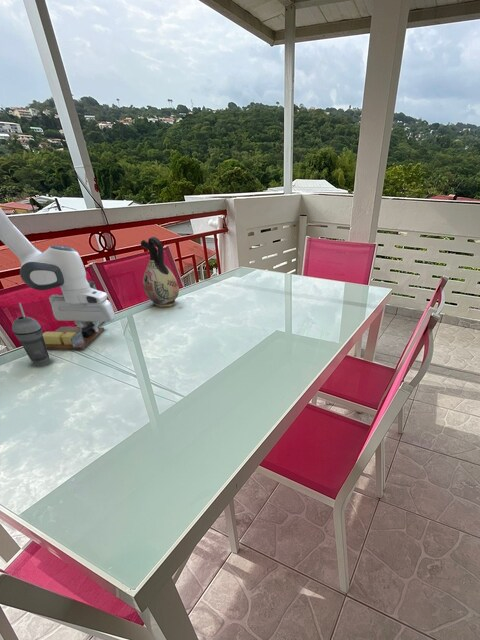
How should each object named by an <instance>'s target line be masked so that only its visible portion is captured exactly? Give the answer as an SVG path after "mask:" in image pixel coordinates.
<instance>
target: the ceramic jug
mask: <svg viewBox="0 0 480 640" xmlns="http://www.w3.org/2000/svg"><path fill="white" fill-rule="evenodd" d="M140 247H142V248H143V249H146V250H147V251H148V253H149V261H148V263H147V265H146V267H145V271H144V274H143V279H142V284H143V285H142V288H143V292H144V294H145V296H146V297H147V298H148V299H149V300H150V301H151V302H152V303H153V304H154V305H155V306H156V307H159V308H168V307H172V306H174V305H175V304H176V299H177V298H178V296H179V293H180V288H179V284H178V283H179V282H178V280H177V278H176V276H175V275H174V273H173V272H172V271H171V269H170V268H169V267H168V266H167V265H166V264H165V256H164V253H165V252H164V246H163V243H162V242H161V240H160V239H159V238H158V237H156V236H151V237H149V238H148V241H147V240H145V239H142V240H141V242H140Z"/></svg>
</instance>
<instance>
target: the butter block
mask: <svg viewBox="0 0 480 640" xmlns="http://www.w3.org/2000/svg"><path fill="white" fill-rule="evenodd" d="M63 335H64V332H54V331H44V332H43V338H44V341H45V344H62V343H63V340H62V336H63Z"/></svg>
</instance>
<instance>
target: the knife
mask: <svg viewBox="0 0 480 640" xmlns="http://www.w3.org/2000/svg"><path fill="white" fill-rule="evenodd" d="M94 325H95V324H93V322H91V323H90V324H88V325H87V326H86V327H85V328H84V329H82V330H81V331H79V332H78V333H77V334H76V335H75V336H73V337H72V338H71V341H72V344H73V347H76V346H77V345H78V344H79V343H80V342H81V341H82V340H84V339H85V338H89V337H90V336H91V335H92V334H93V333H94V332H93V330H92V327H94ZM99 327H100V326H98V329H99Z"/></svg>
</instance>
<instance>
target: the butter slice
mask: <svg viewBox="0 0 480 640" xmlns="http://www.w3.org/2000/svg"><path fill="white" fill-rule="evenodd" d="M75 335H76V332H67V333H65V334H64V335H63V336H62V340H63V342H64V344H65V345H73V344H72V341H71V338H72V337H73V336H75Z"/></svg>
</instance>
